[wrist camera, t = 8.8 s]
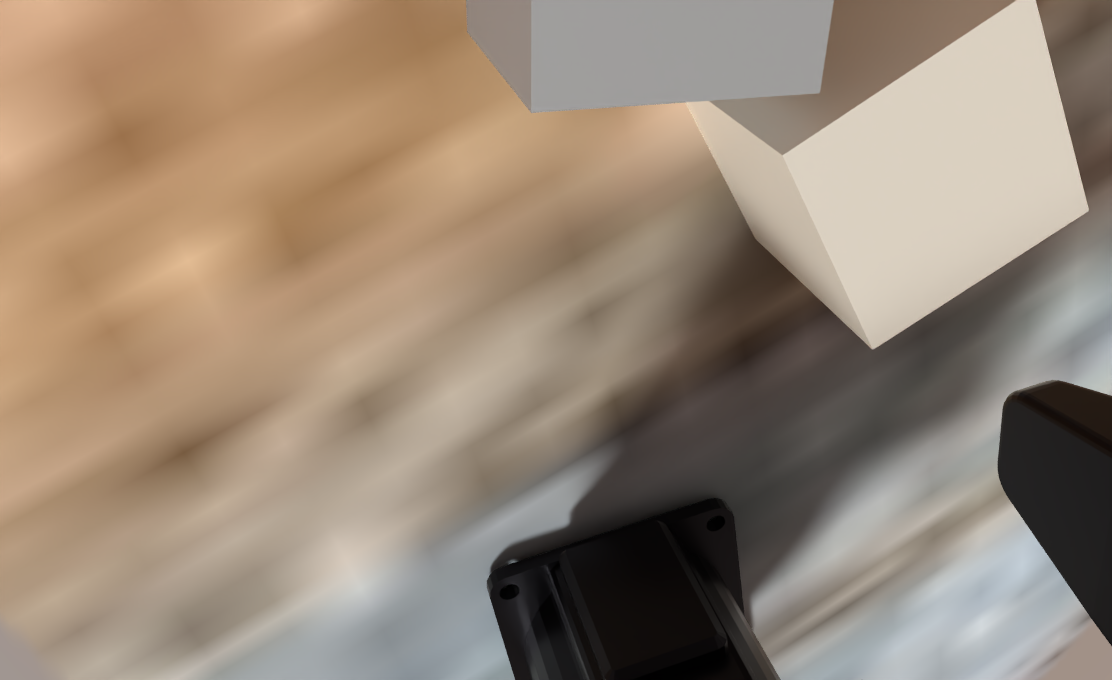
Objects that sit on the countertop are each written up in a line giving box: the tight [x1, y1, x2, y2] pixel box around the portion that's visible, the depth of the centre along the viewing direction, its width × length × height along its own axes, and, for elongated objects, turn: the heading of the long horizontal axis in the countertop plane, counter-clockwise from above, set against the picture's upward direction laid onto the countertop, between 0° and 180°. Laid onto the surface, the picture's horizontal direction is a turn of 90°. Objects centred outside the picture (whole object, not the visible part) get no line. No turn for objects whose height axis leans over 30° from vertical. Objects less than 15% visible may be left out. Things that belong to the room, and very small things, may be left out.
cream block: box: [685, 0, 1089, 350], centre depth 18 cm, size 4×4×5 cm
